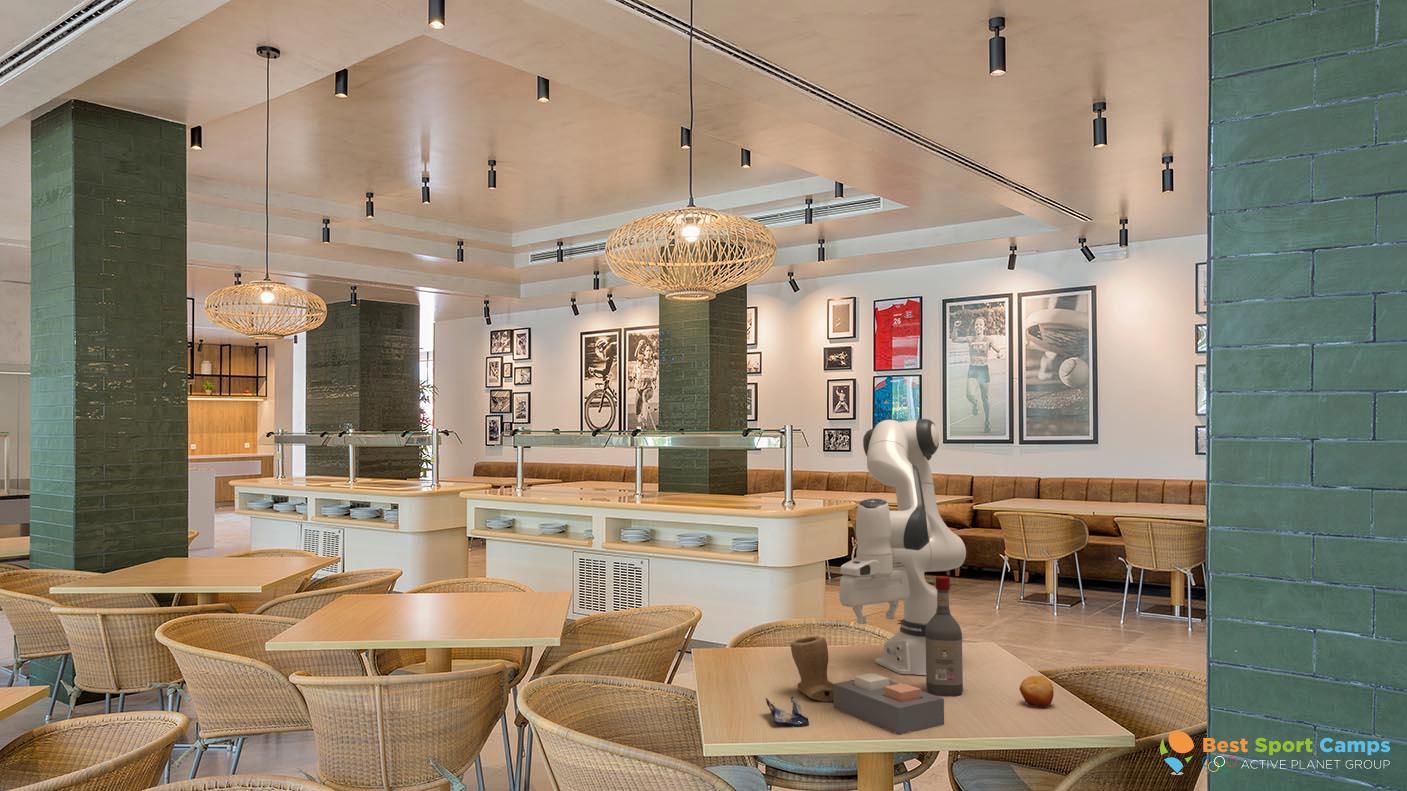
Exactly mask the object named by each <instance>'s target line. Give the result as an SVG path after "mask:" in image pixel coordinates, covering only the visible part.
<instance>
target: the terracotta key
mask: <svg viewBox="0 0 1407 791" xmlns="http://www.w3.org/2000/svg"><path fill="white" fill-rule="evenodd" d="M921 691H922V690H921V688H919V687H916V686H913V685H910V684H907V683H904V682H903V683H899V684H896V685H891V686H886V687H884V696H885V697H888V698H891V699H894V700H896V701H899V702H906V701H911V700H915V699H920V698H921Z"/></svg>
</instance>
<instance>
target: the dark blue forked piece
mask: <svg viewBox="0 0 1407 791" xmlns="http://www.w3.org/2000/svg"><path fill="white" fill-rule="evenodd" d="M765 701H766V705H767V706H768V708H769V710H770V712H771V713H770V714H771V717H772V719H773V720H772V721H773V722H774V724H775V725H780V724H787V725H789V726H790V727H791V726H794V727H795V726H799V727H803V725H804V726H809V725H810V722H809V718H808V717H806V716H805V715H802V712H801V710H802V709H801V705H800V704H799V701H798V699H796V698H795V696H791V697H790V703H792V709H791V710H792V711H791V713H788V712H786V711H784V710H783V709H781V708H777V707H776V706H775V702H773V703H772V702H771V701H770V700H769V699H768V698H767V697H765ZM783 713H785V714H783ZM784 715H789V716H788V718H789V717H790V720H789V721H785V722H784V720H783V716H784ZM781 718H782V719H781ZM791 720H792V721H791ZM798 721H800V722H802V723H800V722H798Z"/></svg>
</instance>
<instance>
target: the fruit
mask: <svg viewBox="0 0 1407 791" xmlns="http://www.w3.org/2000/svg"><path fill="white" fill-rule="evenodd" d="M1022 680H1023V681H1021V684H1020V685H1019V691H1020V694H1021V696H1022V698H1023V699H1024V701H1025V702H1026V704H1027V705H1028V706H1030V707H1042V708H1046V707H1049V706H1051V704H1052V702H1053V698H1054V693H1055V692H1054V691H1055V690H1054V686H1053V683H1052V682H1051V681H1050V680H1048V679H1047V677H1045V676H1043V675H1032V676H1027V678H1025V679H1022Z"/></svg>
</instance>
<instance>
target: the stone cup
mask: <svg viewBox="0 0 1407 791" xmlns="http://www.w3.org/2000/svg"><path fill="white" fill-rule="evenodd" d="M828 649H829V648H828V642H827V640H826V639H825V638H824V637H823V636H821V637H820V636H818V635H812V636H806V637H800V638H796V639H794V640H792V641H791V643H790V650H791V656H792V659H793V661H794V663H795V665H796V668H797V671H798V674H799V675H800V676H799V677H800V682H798V683H797V689H798V690H799V691H800V692H802V693H803V694H804V695H805V696H807V697H809V698H810V699H813V700H817V701H819V702H833V684H834V683H833V682H832V681H829V679H828V666H829V650H828Z"/></svg>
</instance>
